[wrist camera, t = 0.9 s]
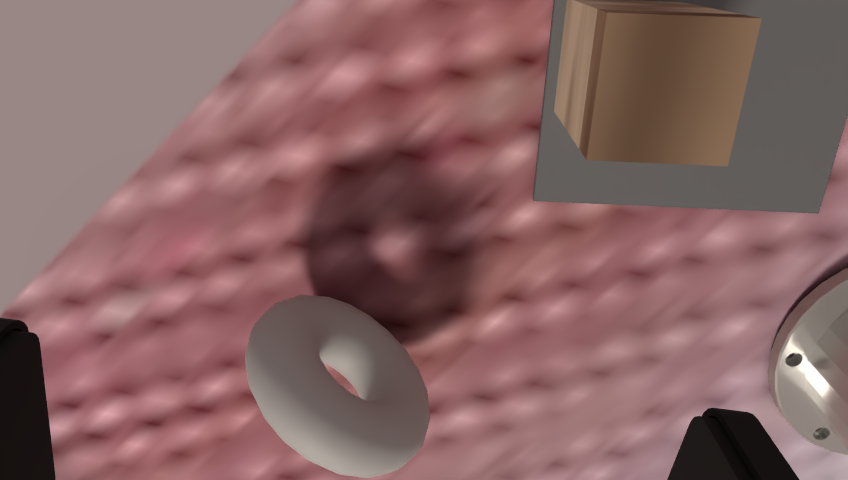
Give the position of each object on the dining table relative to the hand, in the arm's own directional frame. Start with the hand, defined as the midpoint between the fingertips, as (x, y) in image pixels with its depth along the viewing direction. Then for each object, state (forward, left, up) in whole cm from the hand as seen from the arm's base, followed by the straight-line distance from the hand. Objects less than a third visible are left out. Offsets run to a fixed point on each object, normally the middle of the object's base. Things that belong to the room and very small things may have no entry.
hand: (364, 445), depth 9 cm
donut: (+3, +13, -24) cm, 27 cm away
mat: (-13, -1, -24) cm, 27 cm away
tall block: (-9, -2, -23) cm, 25 cm away
